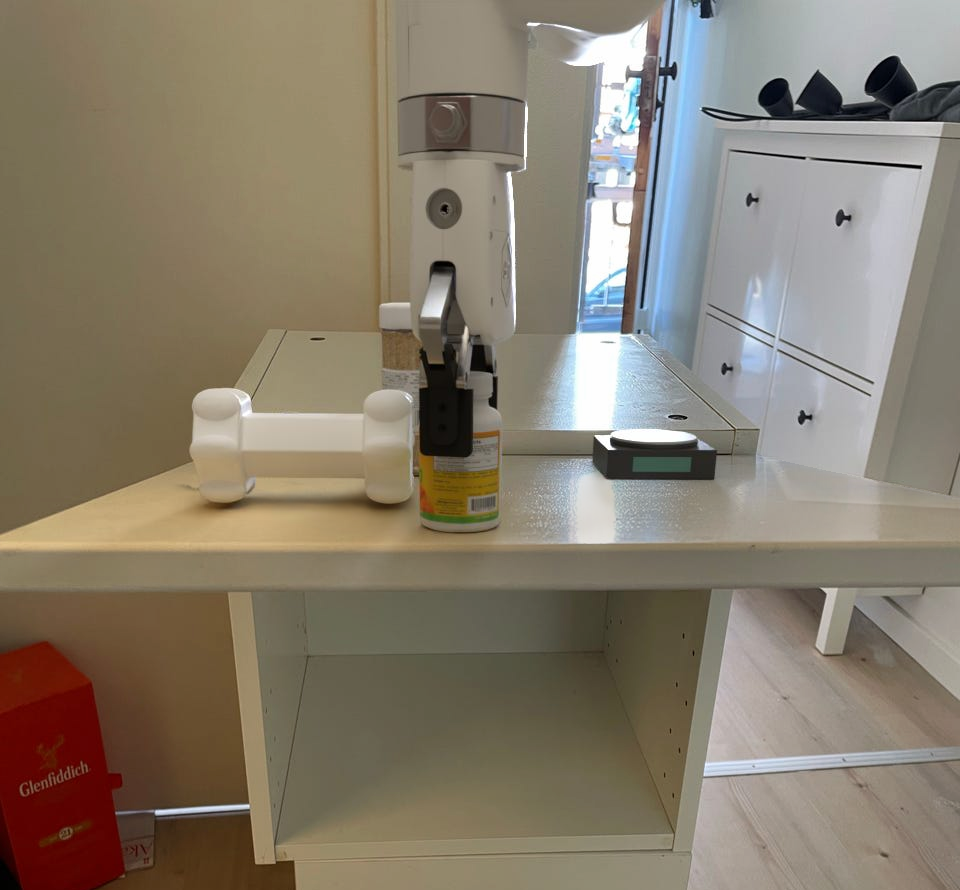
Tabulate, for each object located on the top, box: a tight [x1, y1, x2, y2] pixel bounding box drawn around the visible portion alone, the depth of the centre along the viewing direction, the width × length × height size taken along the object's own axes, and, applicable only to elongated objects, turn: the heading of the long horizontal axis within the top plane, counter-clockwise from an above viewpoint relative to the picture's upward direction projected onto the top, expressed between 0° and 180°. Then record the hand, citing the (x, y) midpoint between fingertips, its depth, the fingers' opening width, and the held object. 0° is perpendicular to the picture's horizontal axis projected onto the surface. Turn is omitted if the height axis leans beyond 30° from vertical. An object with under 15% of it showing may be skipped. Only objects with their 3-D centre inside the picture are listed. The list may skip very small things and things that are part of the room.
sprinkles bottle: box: [378, 301, 423, 476], centre depth 80 cm, size 5×5×13 cm
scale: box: [591, 428, 718, 480], centre depth 83 cm, size 9×8×3 cm
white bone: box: [188, 387, 415, 505], centre depth 69 cm, size 15×9×8 cm, turn 92°
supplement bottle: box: [418, 371, 503, 533], centre depth 63 cm, size 5×5×10 cm
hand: (460, 443), depth 63 cm, fingers open, 7 cm apart
